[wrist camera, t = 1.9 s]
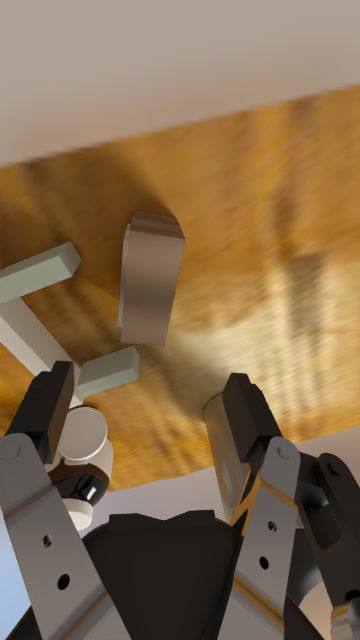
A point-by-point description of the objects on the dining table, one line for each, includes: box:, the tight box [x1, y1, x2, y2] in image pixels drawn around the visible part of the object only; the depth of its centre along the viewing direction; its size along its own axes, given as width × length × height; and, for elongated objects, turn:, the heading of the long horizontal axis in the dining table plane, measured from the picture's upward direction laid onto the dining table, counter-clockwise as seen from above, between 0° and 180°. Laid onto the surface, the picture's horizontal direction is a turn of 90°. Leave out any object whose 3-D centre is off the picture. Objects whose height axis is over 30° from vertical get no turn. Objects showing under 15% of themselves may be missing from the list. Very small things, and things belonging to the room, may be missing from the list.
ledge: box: [0, 241, 140, 408], centre depth 27 cm, size 18×10×4 cm, turn 19°
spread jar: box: [44, 407, 113, 531], centre depth 35 cm, size 12×11×12 cm
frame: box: [118, 211, 186, 346], centre depth 23 cm, size 10×4×7 cm, turn 169°
